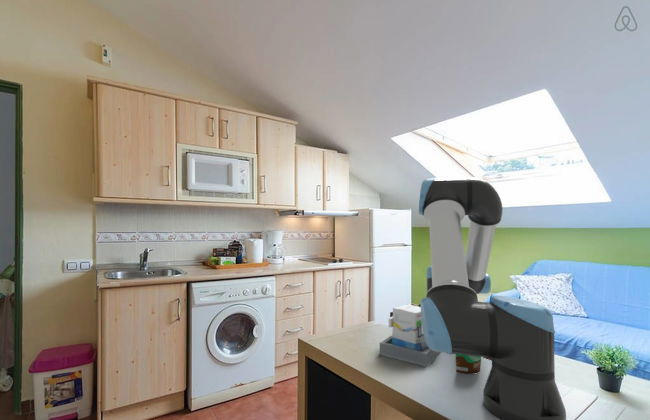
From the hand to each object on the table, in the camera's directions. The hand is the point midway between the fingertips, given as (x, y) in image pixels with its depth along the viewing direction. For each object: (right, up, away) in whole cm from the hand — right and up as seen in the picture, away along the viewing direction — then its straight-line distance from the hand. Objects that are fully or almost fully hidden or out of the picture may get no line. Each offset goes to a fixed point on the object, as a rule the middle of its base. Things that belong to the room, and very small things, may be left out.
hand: (405, 326), depth 99 cm
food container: (+16, -9, -8) cm, 21 cm away
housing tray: (+2, -9, +3) cm, 10 cm away
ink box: (+2, -7, +3) cm, 8 cm away
